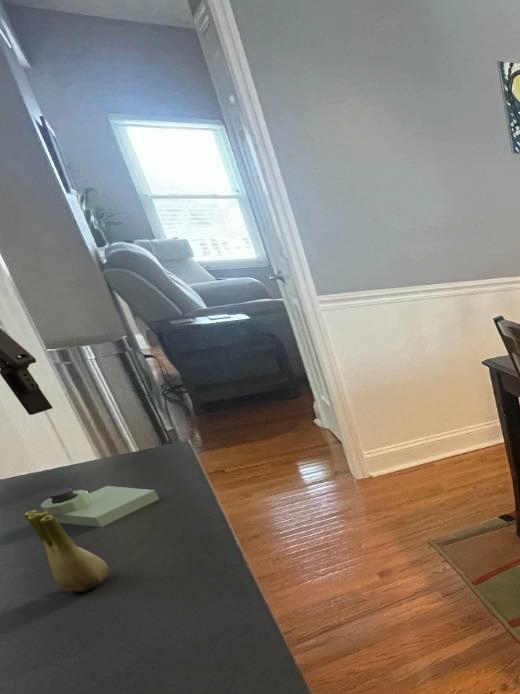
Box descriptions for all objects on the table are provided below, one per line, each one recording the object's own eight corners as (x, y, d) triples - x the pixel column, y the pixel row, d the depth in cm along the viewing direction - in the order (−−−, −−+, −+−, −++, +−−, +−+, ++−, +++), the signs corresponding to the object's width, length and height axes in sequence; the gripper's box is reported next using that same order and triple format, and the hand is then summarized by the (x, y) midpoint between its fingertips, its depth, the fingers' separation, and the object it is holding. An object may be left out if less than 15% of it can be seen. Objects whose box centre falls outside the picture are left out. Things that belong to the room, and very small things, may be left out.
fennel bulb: (69, 583, 84) (16, 511, 78) (116, 568, 87) (68, 497, 81) (63, 603, 80) (7, 528, 74) (113, 586, 83) (62, 513, 77)
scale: (44, 523, 99) (31, 505, 97) (109, 494, 107) (98, 477, 106) (97, 529, 97) (85, 511, 95) (159, 499, 105) (149, 482, 103)
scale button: (50, 503, 99) (44, 495, 98) (69, 495, 101) (63, 487, 100) (62, 504, 98) (56, 496, 97) (80, 496, 100) (75, 488, 100)
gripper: (-206, 290, 82) (-91, 430, 92) (-59, 270, 79) (44, 417, 88) (-131, 281, 89) (-31, 412, 98) (8, 262, 86) (97, 399, 95)
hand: (5, 415), depth 93 cm, fingers open, 13 cm apart
